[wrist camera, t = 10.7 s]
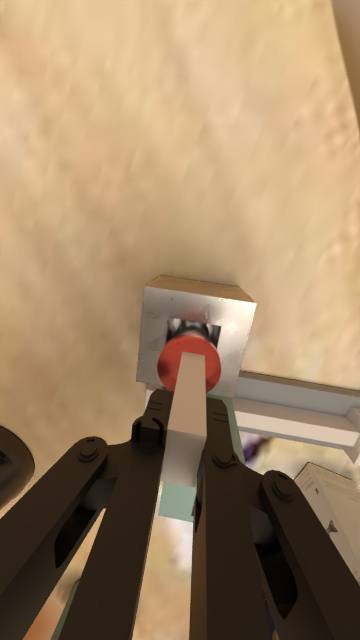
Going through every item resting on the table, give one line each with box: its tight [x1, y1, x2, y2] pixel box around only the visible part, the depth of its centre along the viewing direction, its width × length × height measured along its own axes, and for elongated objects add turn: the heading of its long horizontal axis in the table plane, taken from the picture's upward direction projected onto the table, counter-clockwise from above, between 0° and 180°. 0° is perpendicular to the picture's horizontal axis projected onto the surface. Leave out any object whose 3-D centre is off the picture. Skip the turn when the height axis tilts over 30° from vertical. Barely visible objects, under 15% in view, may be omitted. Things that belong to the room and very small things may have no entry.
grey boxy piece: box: [136, 275, 257, 398], centre depth 22 cm, size 9×9×8 cm
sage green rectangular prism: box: [158, 394, 246, 522], centre depth 22 cm, size 6×6×12 cm
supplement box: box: [294, 463, 360, 585], centre depth 27 cm, size 7×7×13 cm
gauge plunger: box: [157, 320, 221, 393], centre depth 18 cm, size 4×4×7 cm
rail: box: [144, 371, 360, 465], centre depth 27 cm, size 26×8×5 cm, turn 82°
